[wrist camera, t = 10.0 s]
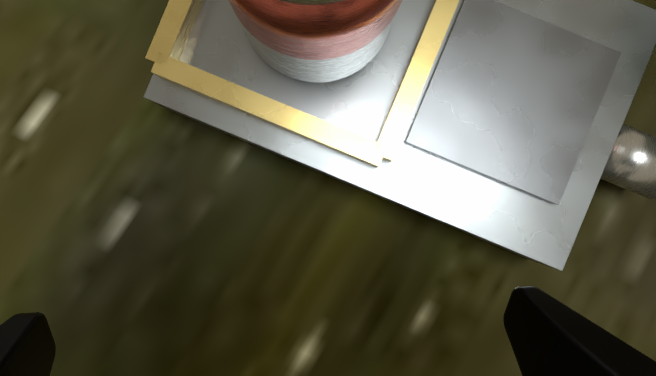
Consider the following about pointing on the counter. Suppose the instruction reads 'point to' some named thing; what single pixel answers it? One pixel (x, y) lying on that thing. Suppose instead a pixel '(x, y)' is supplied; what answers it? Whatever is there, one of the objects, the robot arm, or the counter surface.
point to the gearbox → (441, 109)
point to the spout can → (316, 34)
